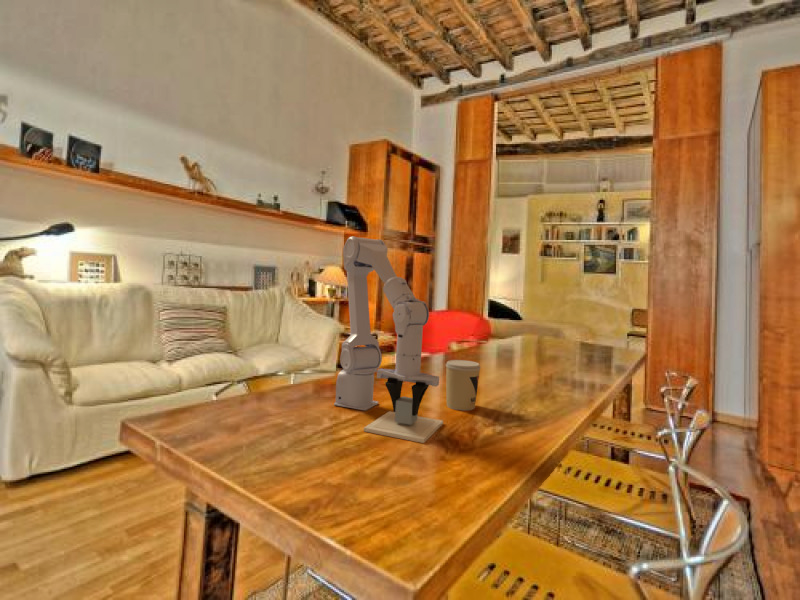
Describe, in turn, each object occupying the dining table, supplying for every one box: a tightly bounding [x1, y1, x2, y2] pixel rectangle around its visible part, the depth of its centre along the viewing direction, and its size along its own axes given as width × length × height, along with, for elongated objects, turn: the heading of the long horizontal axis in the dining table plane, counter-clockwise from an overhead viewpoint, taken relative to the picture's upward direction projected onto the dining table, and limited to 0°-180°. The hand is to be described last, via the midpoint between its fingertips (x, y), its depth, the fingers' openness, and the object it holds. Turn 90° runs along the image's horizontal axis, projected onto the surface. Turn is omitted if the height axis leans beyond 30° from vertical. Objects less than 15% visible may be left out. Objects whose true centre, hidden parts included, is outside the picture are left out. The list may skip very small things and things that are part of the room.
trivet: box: [363, 410, 444, 444], centre depth 102 cm, size 14×14×1 cm
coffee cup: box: [445, 359, 481, 412], centre depth 121 cm, size 9×9×12 cm
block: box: [395, 395, 419, 425], centre depth 102 cm, size 4×4×5 cm
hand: (405, 412), depth 101 cm, fingers closed on block, 4 cm apart
